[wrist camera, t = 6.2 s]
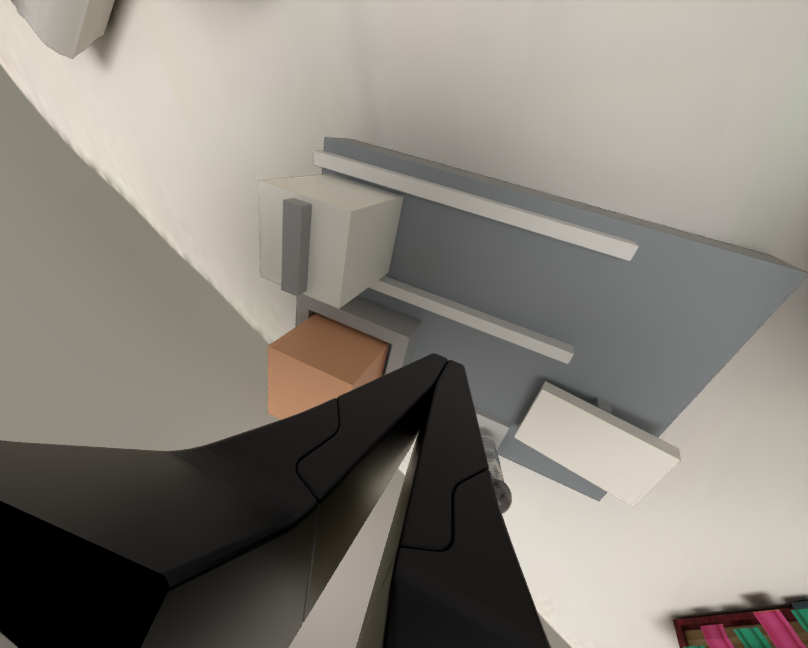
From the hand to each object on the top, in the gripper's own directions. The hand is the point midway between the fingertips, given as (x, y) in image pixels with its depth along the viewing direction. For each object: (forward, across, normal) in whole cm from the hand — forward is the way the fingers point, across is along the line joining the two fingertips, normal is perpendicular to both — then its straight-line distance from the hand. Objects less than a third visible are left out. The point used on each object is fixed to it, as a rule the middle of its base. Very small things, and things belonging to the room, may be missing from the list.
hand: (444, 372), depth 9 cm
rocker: (+8, -7, +6) cm, 12 cm away
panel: (+11, 0, +4) cm, 12 cm away
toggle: (+8, -3, +9) cm, 13 cm away
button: (+7, +6, +7) cm, 12 cm away
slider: (+9, +7, 0) cm, 11 cm away
